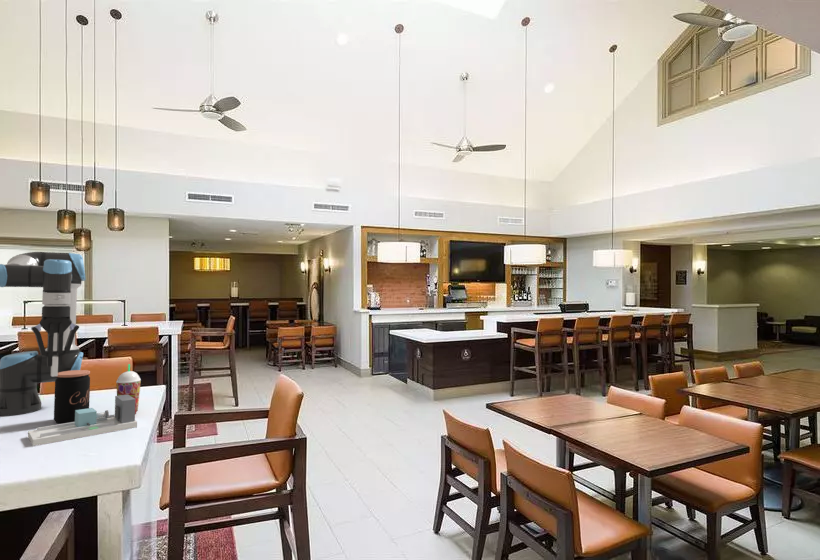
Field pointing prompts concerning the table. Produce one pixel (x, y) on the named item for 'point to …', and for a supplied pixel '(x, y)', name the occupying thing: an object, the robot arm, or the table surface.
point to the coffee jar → (71, 394)
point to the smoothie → (129, 385)
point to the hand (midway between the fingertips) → (54, 375)
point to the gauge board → (103, 425)
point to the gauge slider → (88, 417)
